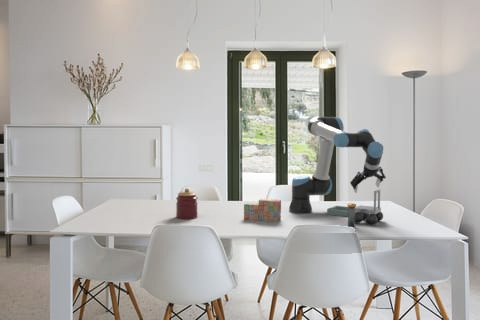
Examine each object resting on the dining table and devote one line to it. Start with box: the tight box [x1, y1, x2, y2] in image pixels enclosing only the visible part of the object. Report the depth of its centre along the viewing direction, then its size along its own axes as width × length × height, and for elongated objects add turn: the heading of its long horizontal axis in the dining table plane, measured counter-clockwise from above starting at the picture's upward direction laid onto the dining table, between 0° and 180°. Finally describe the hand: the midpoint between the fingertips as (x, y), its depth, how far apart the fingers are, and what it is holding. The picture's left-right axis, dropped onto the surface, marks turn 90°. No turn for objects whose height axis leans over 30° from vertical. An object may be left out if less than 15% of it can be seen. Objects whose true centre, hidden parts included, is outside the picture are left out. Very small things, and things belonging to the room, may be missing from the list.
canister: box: [175, 187, 198, 220], centre depth 224 cm, size 13×13×18 cm
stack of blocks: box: [243, 198, 282, 223], centre depth 218 cm, size 21×6×12 cm, turn 71°
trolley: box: [355, 189, 384, 226], centre depth 214 cm, size 14×15×19 cm
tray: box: [326, 205, 348, 218], centre depth 239 cm, size 16×16×3 cm
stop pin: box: [346, 203, 357, 227], centre depth 203 cm, size 5×5×12 cm
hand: (366, 188), depth 215 cm, fingers open, 13 cm apart
